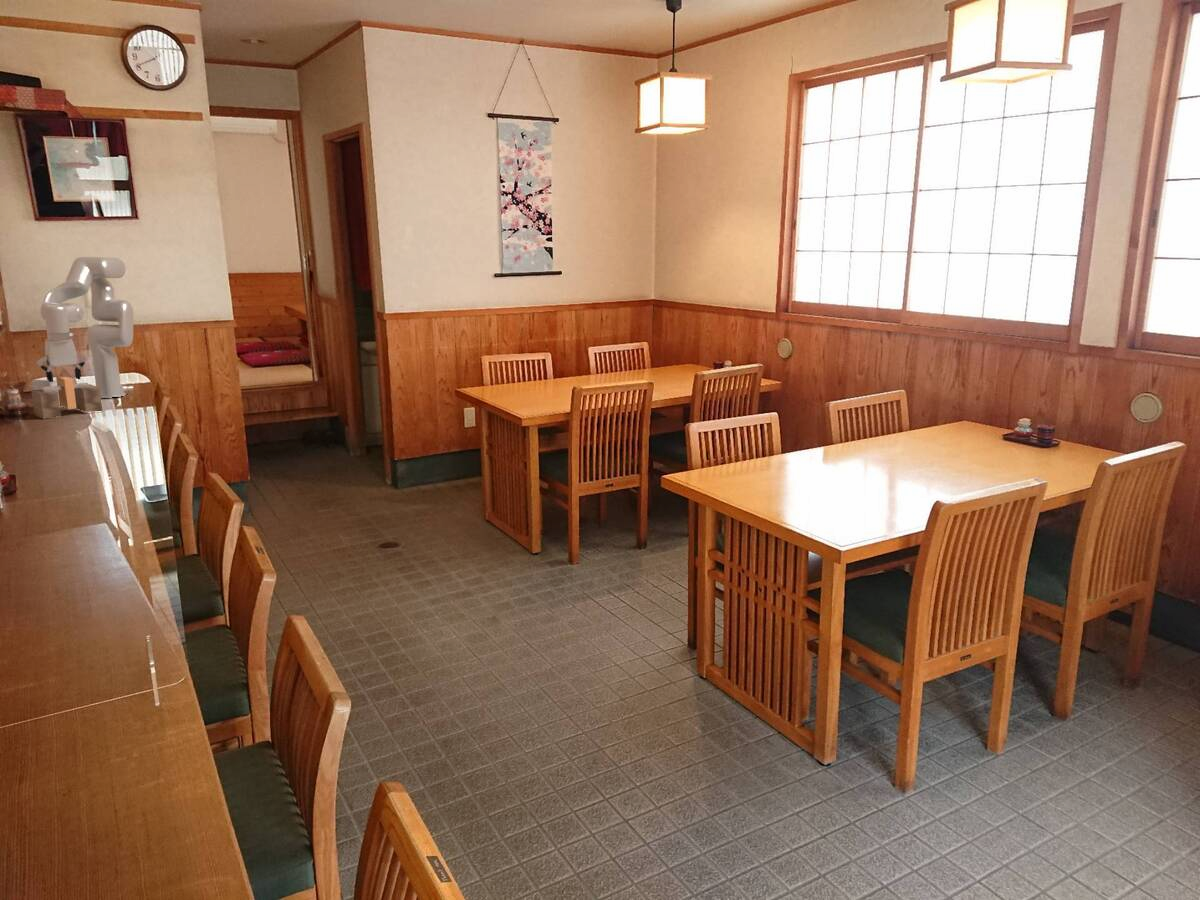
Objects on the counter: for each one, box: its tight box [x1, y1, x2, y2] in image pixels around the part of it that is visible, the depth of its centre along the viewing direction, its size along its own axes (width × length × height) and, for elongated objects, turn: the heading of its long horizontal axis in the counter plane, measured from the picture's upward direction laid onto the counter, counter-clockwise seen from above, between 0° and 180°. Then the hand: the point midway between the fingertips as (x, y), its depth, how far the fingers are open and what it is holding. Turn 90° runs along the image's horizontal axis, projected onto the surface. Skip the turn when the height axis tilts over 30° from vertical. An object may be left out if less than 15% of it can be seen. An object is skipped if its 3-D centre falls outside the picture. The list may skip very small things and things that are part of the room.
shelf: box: [30, 383, 103, 420], centre depth 333 cm, size 21×10×10 cm, turn 140°
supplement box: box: [32, 376, 61, 407], centre depth 340 cm, size 7×7×13 cm
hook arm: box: [42, 382, 90, 392], centre depth 332 cm, size 16×2×2 cm, turn 140°
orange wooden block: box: [55, 375, 76, 410], centre depth 332 cm, size 3×8×12 cm, turn 51°
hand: (64, 380), depth 331 cm, fingers open, 9 cm apart
